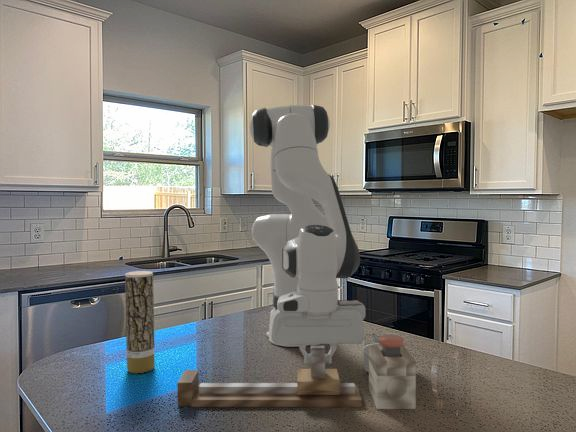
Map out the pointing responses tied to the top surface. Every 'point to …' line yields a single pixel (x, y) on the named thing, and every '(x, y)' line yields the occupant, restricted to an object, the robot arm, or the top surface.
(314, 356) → the carriage
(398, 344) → the button
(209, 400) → the rail track
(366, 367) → the saucepan
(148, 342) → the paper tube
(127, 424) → the top surface
